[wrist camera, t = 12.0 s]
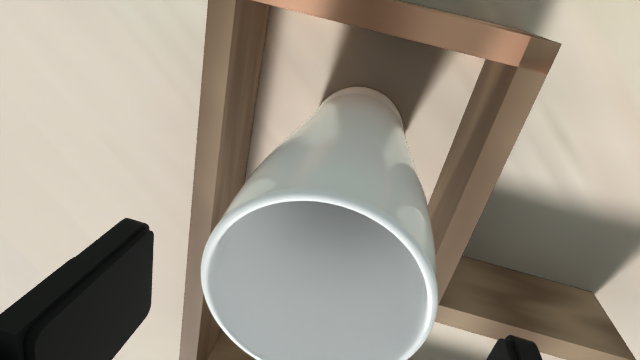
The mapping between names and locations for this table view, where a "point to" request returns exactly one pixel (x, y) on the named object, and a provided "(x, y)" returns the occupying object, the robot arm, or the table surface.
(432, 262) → the white cup
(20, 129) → the table surface
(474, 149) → the angular wooden frame
